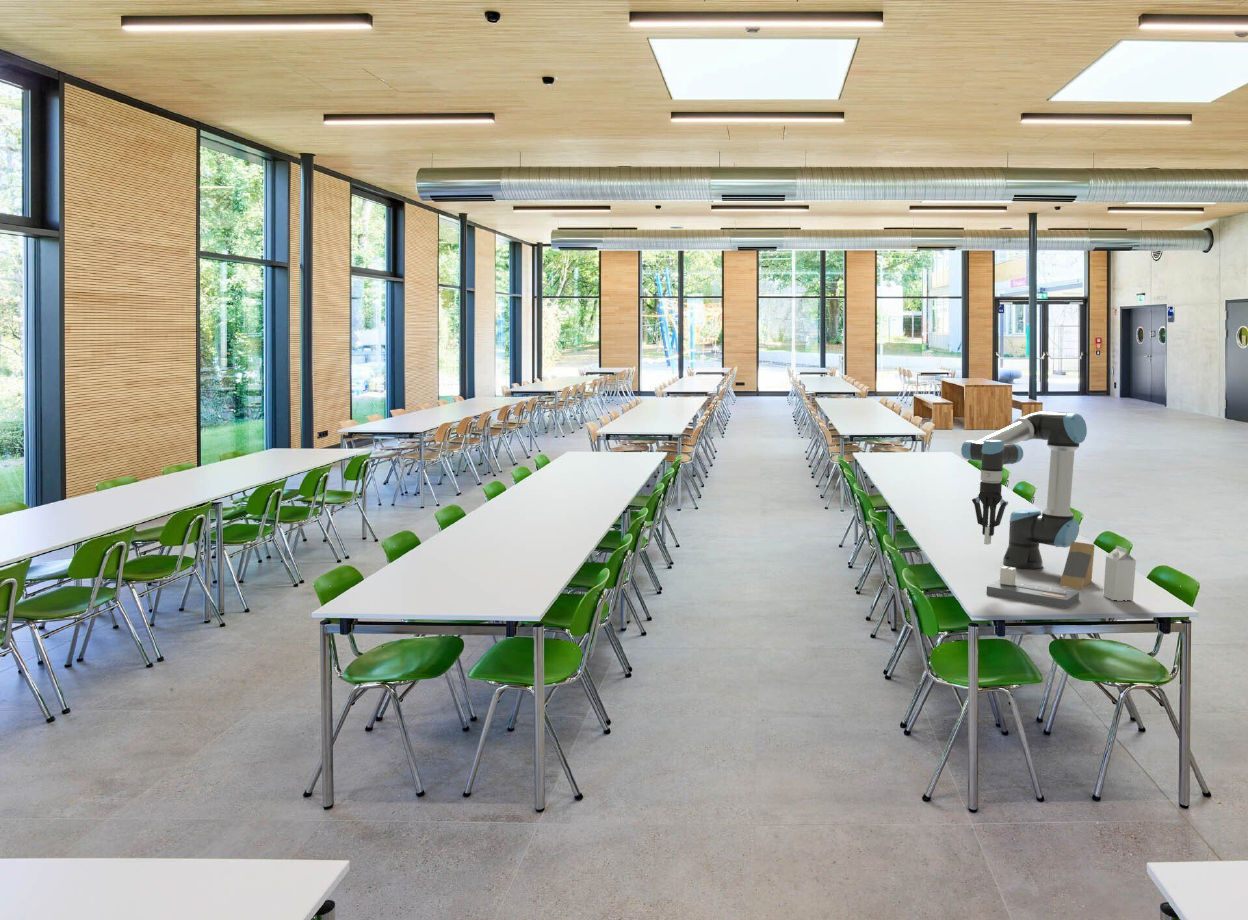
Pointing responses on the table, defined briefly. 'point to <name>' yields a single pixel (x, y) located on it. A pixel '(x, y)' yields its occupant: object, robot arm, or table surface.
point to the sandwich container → (1078, 566)
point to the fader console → (1034, 594)
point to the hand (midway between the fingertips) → (987, 543)
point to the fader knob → (1007, 575)
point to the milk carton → (1119, 575)
